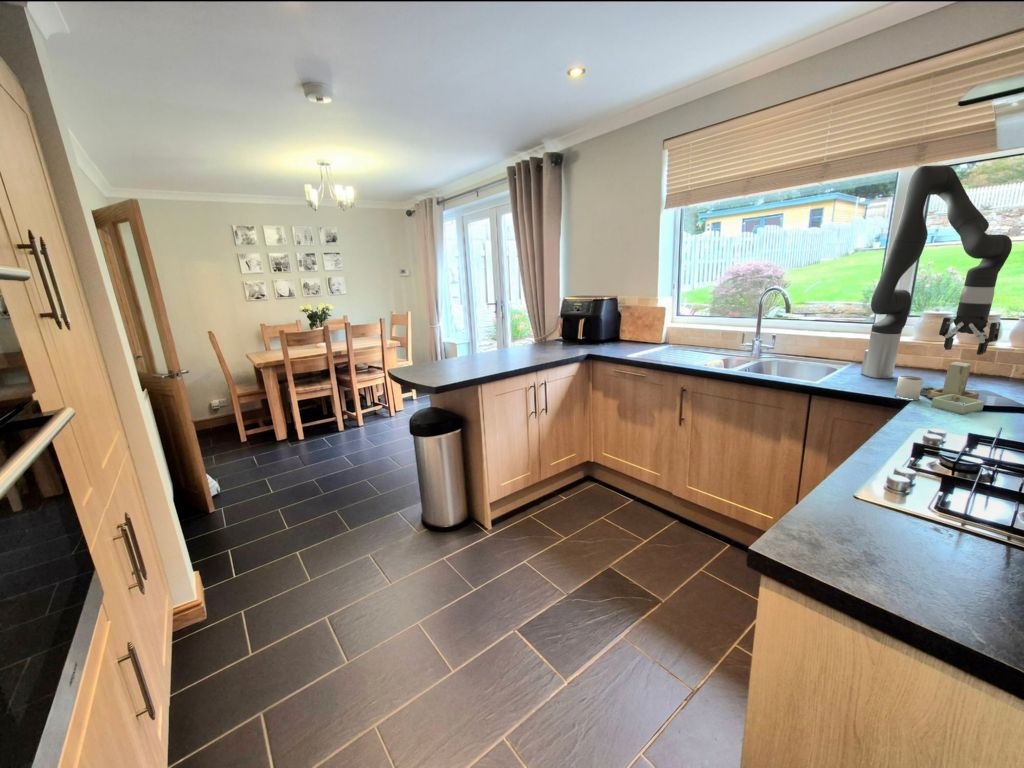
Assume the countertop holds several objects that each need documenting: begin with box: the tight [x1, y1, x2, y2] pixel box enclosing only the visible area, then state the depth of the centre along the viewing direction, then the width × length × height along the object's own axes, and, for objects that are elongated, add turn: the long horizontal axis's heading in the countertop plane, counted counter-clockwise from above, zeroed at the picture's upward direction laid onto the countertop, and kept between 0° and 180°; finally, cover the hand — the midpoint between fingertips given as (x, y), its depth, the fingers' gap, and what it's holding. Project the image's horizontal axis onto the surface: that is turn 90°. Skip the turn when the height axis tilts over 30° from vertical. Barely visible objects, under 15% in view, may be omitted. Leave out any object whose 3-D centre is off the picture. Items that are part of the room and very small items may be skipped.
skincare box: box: [942, 361, 972, 396], centre depth 158 cm, size 6×4×12 cm
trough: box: [930, 394, 985, 416], centre depth 151 cm, size 8×10×3 cm
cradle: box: [921, 386, 980, 402], centre depth 162 cm, size 14×11×2 cm
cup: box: [894, 374, 924, 401], centre depth 161 cm, size 6×6×7 cm
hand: (963, 351), depth 155 cm, fingers open, 8 cm apart
